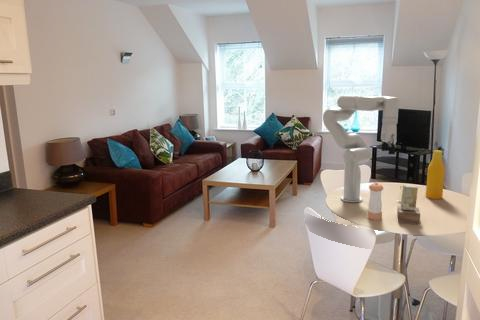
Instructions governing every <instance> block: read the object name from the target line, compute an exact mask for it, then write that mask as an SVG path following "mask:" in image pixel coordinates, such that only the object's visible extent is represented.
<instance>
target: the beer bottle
mask: <svg viewBox="0 0 480 320" xmlns="http://www.w3.org/2000/svg"><path fill="white" fill-rule="evenodd" d="M445 169H446V168H445V165H444V163H443V151H442V150H438V149H436V150H433V154H432V159H431V160H430V163H429V165H428V168H427V174H426V175H427V176H426V187H425V188H426V190H425V197H426V198H427V199H432V200H441V199H442V198H443V194H444V193H443V191H444V183H445V172H446V171H445Z"/></svg>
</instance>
